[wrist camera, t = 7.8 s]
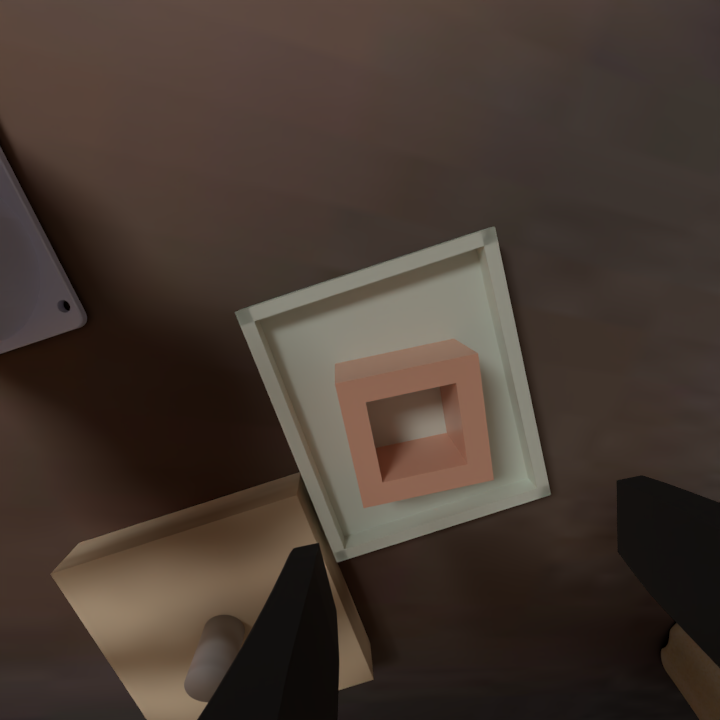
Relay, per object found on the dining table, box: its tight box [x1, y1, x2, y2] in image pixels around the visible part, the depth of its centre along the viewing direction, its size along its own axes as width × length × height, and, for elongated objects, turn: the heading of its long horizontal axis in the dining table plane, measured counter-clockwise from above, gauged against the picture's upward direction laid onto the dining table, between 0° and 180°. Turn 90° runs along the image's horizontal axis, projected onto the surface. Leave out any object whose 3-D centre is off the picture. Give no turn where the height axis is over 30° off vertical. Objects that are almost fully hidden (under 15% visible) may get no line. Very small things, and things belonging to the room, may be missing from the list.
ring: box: [335, 339, 494, 508], centre depth 16 cm, size 6×6×3 cm
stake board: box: [51, 472, 374, 720], centre depth 18 cm, size 12×12×4 cm
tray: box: [235, 227, 551, 562], centre depth 18 cm, size 13×11×2 cm
